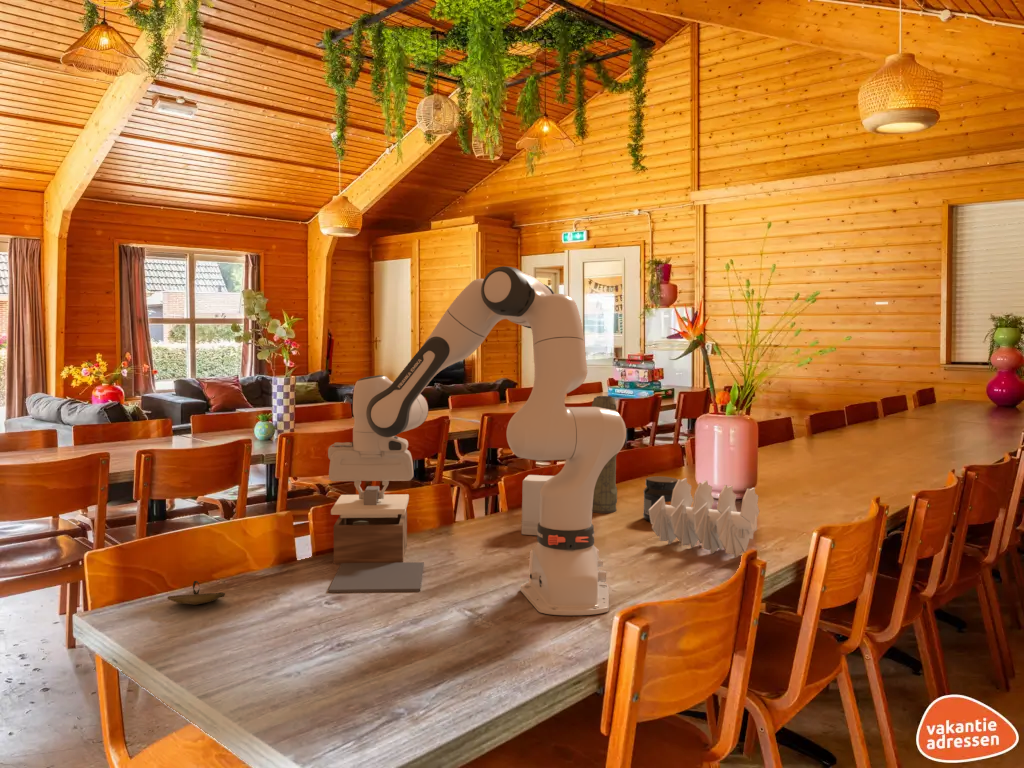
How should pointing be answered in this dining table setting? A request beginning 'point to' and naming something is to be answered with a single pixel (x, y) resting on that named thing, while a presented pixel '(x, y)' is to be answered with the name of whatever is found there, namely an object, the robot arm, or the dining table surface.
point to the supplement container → (657, 492)
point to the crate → (370, 540)
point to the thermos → (605, 471)
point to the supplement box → (531, 502)
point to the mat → (378, 577)
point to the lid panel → (370, 505)
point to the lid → (196, 597)
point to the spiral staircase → (706, 518)
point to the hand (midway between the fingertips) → (371, 498)
